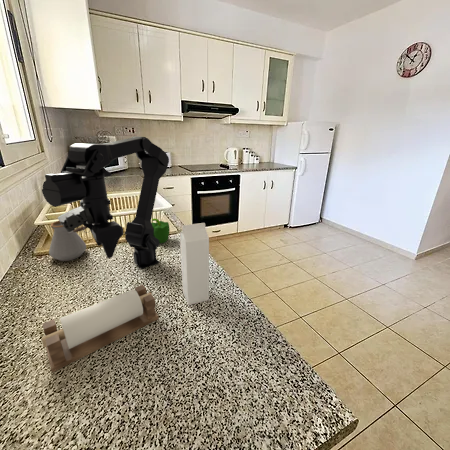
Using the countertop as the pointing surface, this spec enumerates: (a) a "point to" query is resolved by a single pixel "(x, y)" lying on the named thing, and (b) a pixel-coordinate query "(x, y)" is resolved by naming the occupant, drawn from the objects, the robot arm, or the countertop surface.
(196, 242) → the milk
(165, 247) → the countertop surface
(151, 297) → the bracket
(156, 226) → the bell pepper
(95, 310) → the kitchen roll
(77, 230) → the coffee pot
